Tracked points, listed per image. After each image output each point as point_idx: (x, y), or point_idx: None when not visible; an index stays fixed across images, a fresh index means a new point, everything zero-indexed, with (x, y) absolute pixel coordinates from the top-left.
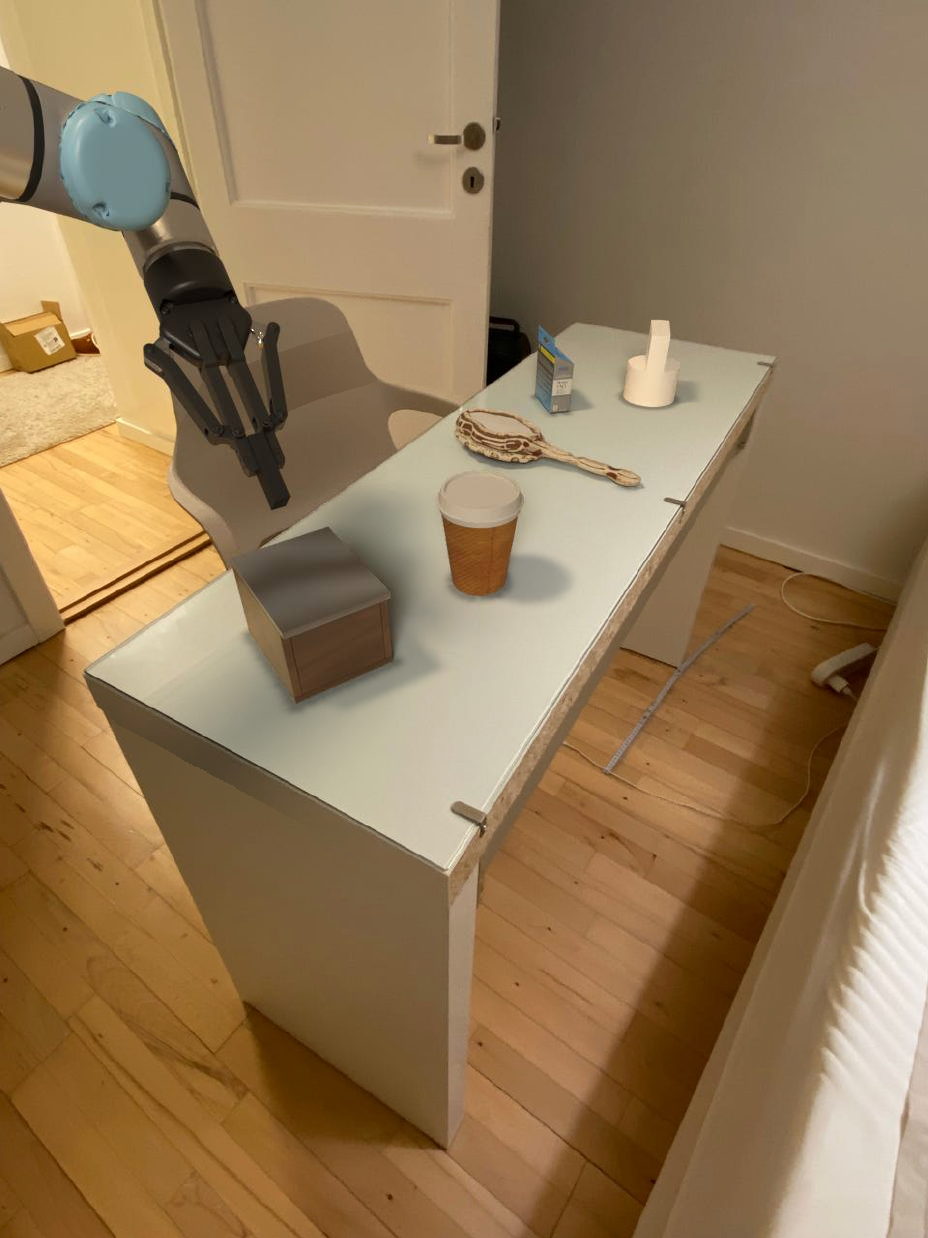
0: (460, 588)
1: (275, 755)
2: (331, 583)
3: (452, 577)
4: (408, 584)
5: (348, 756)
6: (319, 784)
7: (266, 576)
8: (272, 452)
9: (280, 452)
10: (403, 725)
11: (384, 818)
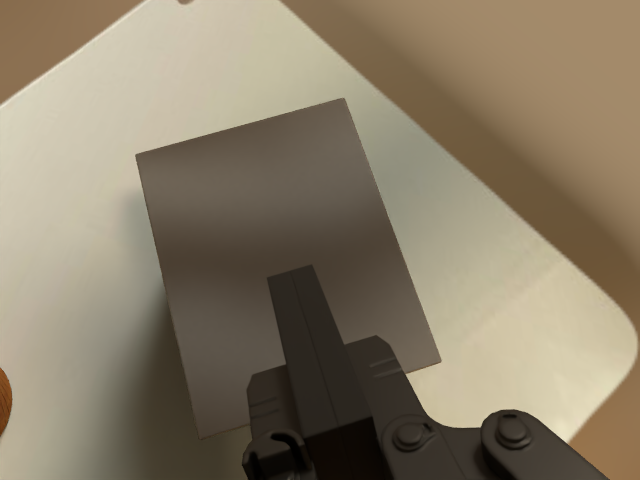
0: (5, 380)
1: (375, 112)
2: (237, 208)
3: (3, 407)
4: (94, 436)
5: (287, 88)
6: (327, 60)
7: (362, 267)
8: (286, 398)
9: (257, 406)
10: (208, 115)
11: (265, 5)
